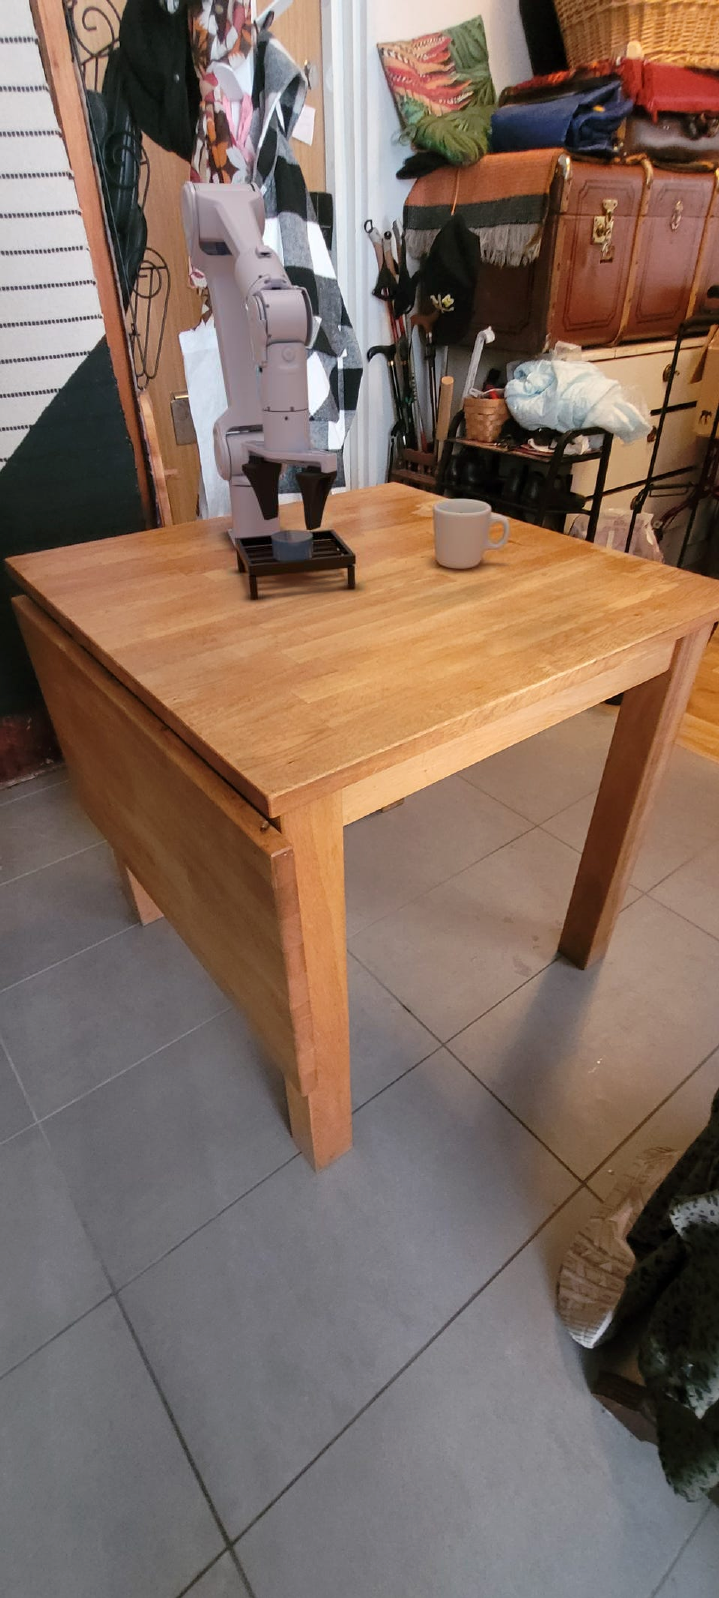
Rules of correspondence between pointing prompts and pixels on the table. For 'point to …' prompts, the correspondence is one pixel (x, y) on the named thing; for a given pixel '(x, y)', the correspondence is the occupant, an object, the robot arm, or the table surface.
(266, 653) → the table surface
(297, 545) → the glossy blue puck
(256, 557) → the rack
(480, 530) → the cup
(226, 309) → the robot arm
